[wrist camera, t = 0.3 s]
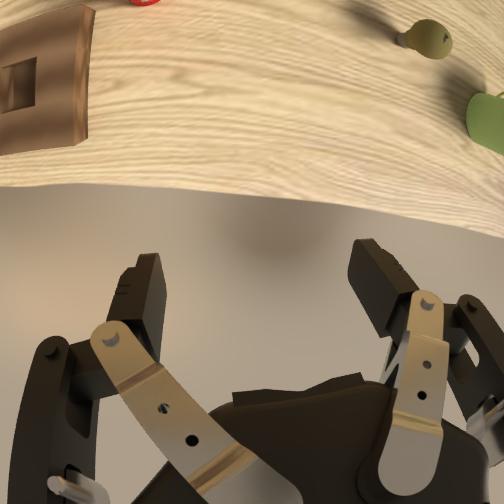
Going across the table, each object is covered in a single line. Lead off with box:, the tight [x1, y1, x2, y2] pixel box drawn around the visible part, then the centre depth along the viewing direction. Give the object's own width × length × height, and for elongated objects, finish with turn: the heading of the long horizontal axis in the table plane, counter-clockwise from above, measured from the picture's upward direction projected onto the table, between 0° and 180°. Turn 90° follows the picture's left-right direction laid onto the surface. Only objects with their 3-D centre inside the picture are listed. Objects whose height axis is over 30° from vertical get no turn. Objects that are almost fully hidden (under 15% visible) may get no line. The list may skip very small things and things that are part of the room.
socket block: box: [0, 4, 96, 156], centre depth 24 cm, size 18×18×4 cm
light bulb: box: [397, 19, 452, 59], centre depth 25 cm, size 6×6×10 cm
